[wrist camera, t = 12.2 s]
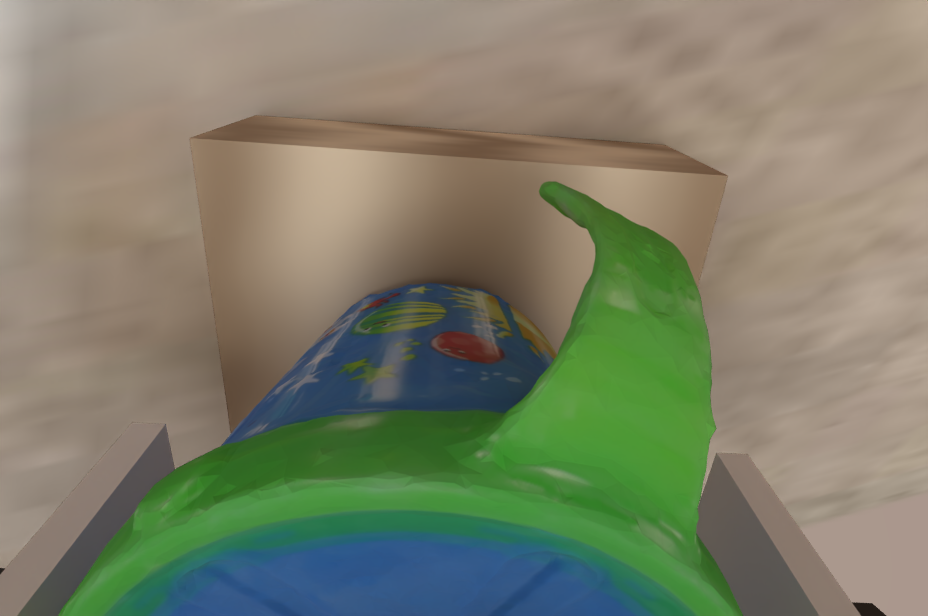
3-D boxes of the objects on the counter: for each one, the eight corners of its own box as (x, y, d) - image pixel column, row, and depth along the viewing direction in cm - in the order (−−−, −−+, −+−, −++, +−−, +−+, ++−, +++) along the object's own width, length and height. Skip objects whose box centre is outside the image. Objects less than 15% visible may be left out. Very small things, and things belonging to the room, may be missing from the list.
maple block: (284, 445, 25) (245, 535, 20) (255, 115, 19) (189, 138, 14) (595, 461, 25) (624, 552, 21) (665, 144, 19) (728, 175, 15)
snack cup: (429, 50, 13) (355, 58, 4) (739, 278, 16) (1127, 600, 7) (181, 470, 19) (-90, 879, 10) (441, 588, 21) (425, 1000, 12)
